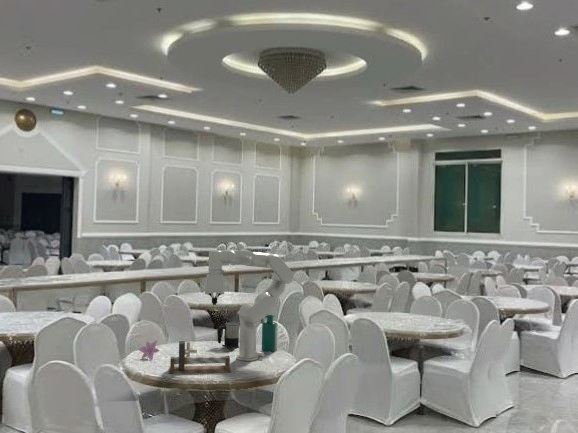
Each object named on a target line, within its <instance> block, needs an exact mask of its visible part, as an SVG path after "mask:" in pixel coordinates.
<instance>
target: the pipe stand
mask: <svg viewBox="0 0 578 433" xmlns="http://www.w3.org/2000/svg"><path fill="white" fill-rule="evenodd" d="M230 362H231V358H230V355H223V356H222V355H217V356H213V355H212V356H190V357H187V356H186V355H185V366H184V370H179V356H170V365H169V370H168V374H169V375H177V374H178V375H180V374H181V375H182V374H183V375H184V374H216V373H218V374H221V373H222V374H223V373H232V370H231V367H230V365H231V364H230ZM194 364H195V365H194ZM199 364H201V365H199ZM202 364H206V365H202ZM207 364H222V365H207ZM223 364H224V365H223ZM175 365H178V366H175ZM188 365H189V366H188Z"/></svg>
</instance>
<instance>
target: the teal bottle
mask: <svg viewBox="0 0 578 433" xmlns="http://www.w3.org/2000/svg"><path fill="white" fill-rule="evenodd" d="M274 317H275V314H268V315H267V316H265V317H264V318H266V321H265V319H264V318H263V319H262V320H260V322H261V324H262V325H261V352H264V353H265V352H266V353H267V352H268V353H273V352H276V351H277V349H278V323H277V322H274Z"/></svg>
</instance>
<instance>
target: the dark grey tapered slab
mask: <svg viewBox="0 0 578 433" xmlns="http://www.w3.org/2000/svg"><path fill="white" fill-rule="evenodd" d="M185 342H186V340H179V341H178V357H179V364H178V366H179V370H184V366H186V365H185V356H186V355H185V349H186V343H185Z"/></svg>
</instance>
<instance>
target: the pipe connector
mask: <svg viewBox="0 0 578 433" xmlns="http://www.w3.org/2000/svg"><path fill="white" fill-rule="evenodd" d="M190 344H191V342H190V341H186V348H185V356H187V357H191V356H190V355H191V354H192V353H193V354H197V352H198V350H197V349H193V347H191V345H190Z"/></svg>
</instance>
